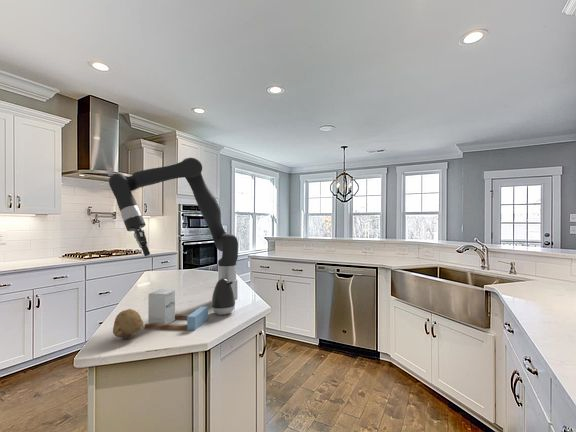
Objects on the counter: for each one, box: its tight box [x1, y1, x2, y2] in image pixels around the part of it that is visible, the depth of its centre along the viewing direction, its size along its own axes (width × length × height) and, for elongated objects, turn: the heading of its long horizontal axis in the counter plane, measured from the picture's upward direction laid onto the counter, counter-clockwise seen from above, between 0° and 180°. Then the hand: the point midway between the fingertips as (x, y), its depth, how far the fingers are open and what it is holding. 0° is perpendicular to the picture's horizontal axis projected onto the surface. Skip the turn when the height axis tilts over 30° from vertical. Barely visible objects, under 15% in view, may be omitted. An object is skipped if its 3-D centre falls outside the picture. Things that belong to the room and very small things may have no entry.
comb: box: [143, 313, 190, 331], centre depth 121 cm, size 17×13×2 cm
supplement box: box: [147, 289, 176, 324], centre depth 122 cm, size 7×7×13 cm
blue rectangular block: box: [186, 306, 209, 331], centre depth 120 cm, size 3×13×5 cm, turn 174°
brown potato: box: [112, 308, 144, 340], centre depth 106 cm, size 9×9×10 cm
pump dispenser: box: [210, 278, 236, 316], centre depth 133 cm, size 10×10×15 cm
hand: (147, 255), depth 129 cm, fingers closed
